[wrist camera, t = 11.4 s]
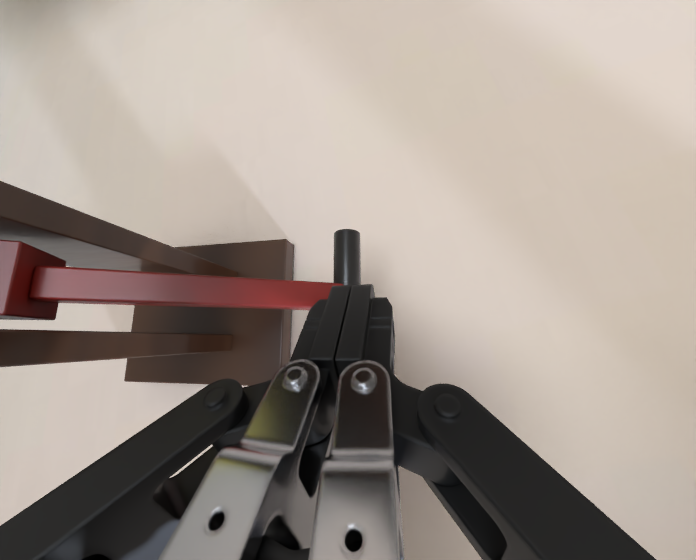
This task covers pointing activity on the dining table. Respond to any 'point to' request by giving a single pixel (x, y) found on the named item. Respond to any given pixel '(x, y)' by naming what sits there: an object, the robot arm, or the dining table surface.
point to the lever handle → (154, 284)
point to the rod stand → (151, 321)
